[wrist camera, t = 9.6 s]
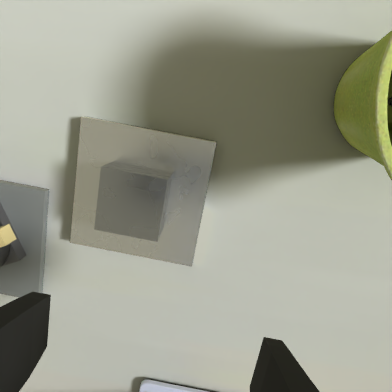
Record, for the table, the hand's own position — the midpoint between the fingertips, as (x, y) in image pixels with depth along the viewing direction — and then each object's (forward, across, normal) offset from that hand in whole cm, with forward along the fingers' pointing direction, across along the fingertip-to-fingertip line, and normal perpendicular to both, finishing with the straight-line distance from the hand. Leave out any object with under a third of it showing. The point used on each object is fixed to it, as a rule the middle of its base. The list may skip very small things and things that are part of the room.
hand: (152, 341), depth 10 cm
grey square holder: (+10, +3, -2) cm, 11 cm away
